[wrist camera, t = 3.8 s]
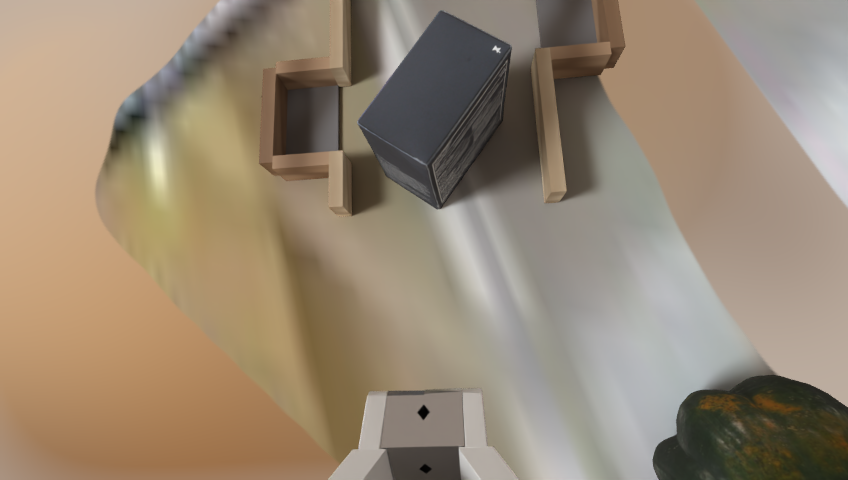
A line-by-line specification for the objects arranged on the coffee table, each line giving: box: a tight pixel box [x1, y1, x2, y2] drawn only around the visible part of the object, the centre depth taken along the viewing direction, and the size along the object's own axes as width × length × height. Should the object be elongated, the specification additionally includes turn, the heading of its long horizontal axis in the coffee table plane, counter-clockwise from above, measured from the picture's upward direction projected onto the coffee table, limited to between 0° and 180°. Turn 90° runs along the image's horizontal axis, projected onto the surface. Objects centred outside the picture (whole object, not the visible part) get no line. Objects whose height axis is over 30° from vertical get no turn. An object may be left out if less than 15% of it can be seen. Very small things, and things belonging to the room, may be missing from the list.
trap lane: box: [259, 0, 625, 217], centre depth 39 cm, size 32×25×3 cm
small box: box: [357, 10, 512, 209], centre depth 34 cm, size 11×6×10 cm, turn 146°
